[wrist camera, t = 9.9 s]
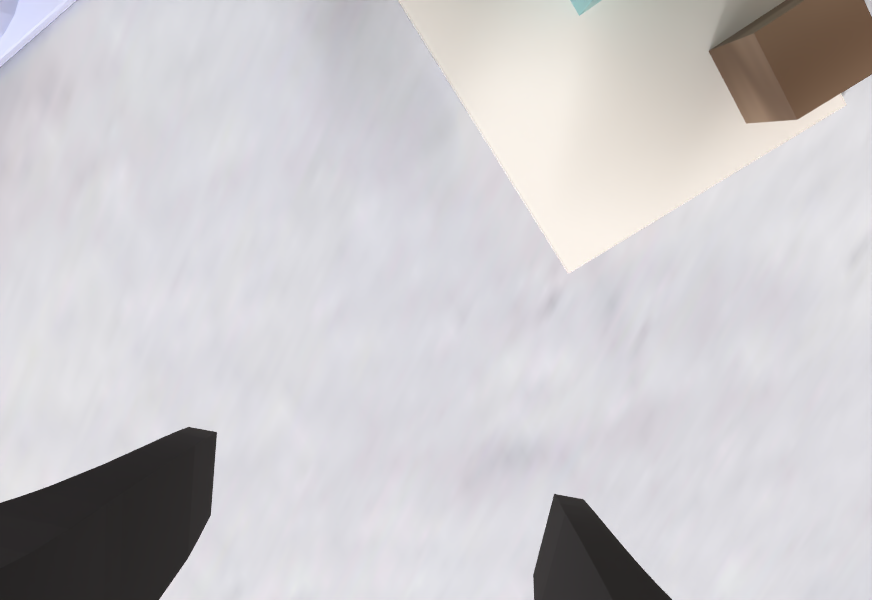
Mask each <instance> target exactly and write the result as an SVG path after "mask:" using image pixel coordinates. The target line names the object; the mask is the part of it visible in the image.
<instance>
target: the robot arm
mask: <svg viewBox="0 0 872 600" xmlns="http://www.w3.org/2000/svg"><path fill="white" fill-rule="evenodd" d="M75 1H76V0H0V67H1V66H2V65H3V64H4V63H5V62H7V61H8V60H9V59H10V58H11V57H12V56H13V55H15V54H16V53H17V52H18V51H19V50H20V49H21V48H23V47H24V46H25V45H26V44H27V43H28V42H29V41H31V40H32V39H33V38H34V37H35V36H36V35H38V34H39V33H40V32H41V31H42V30H43V29H44V28H46V27H47V26H48V25H49V24H50V23H51V22H52V21H54V20H55V19H56V18H57V17H58V16H59V15H60V14H62V13H63V12H64V11H65V10H66V9H67V8H68V7H70V6H71V5H72V4H73V3H74V2H75ZM216 437H217V432H213V431H207V430H202V429H196V428H191V427H187V428H185V429H182V430H179V431H177V432H174V433H172V434H170V435H168V436H165V437H163V438H161V439H159V440H156V441H154V442H152V443H150V444H148V445H145V446H143V447H141V448H139V449H137V450H134V451H132V452H130V453H128V454H126V455H123V456H121V457H119V458H117V459H114V460H112V461H110V462H108V463H105V464H103V465H101V466H98V467H96V468H93V469H91V470H89V471H86V472H84V473H81V474H79V475H76V476H74V477H71V478H69V479H66V480H64V481H61V482H59V483H56V484H54V485H51V486H49V487H46V488H43V489H41V490H38V491H35V492H32V493H29V494H26V495H23V496H21V497H17V498H14V499H11V500H8V501H5V502H2V503H0V600H159V599H160V597H161V596H162V595H163V593H164V592H165V590H166V589H167V587H168V586H169V585H170V583H171V582H172V580H173V579H174V577H175V576H176V575H177V573H178V572H179V570H180V569H181V567H182V566H183V565H184V563H185V562H186V560H187V559H188V557H189V555H190V553H191V552H192V550H193V548H194V546H195V544H196V542H197V541H198V539H199V537H200V535H201V533H202V531H203V529H204V527H205V525H206V523H207V521H208V519H209V517H210V516H211V504H212V490H213V477H214V463H215V450H216ZM533 578H534V600H672V599H671V598H670V597H669V596H668V595H667V594H666V593H665V592H664V591H663V590H662V589H661V588H660V587H659V586H658V585H657V584H656V583H655V582H654V580H653V579H652V578H651V577H650V576H649V575H648V574H647V573H646V572H645V571H644V570H643V569H642V567H641V566H640V565H639V564H638V563H637V562H636V561H635V560H634V558H633V557H632V556H631V555H630V554H629V553H628V551H627V550H626V549H625V548H624V547H623V546H622V544H621V543H620V542H619V541H618V540H617V539H616V537H615V536H614V535H613V534H612V533H611V531H610V530H609V529H608V528H607V527H606V525H605V524H604V523H603V522H602V521H601V519H600V518H599V517H598V516H597V515H596V513H595V512H594V511H593V510H592V509H591V507H590V506H589V505H588V504H587V503H586V502H585V501H584V500H583V499H578V498H573V497H568V496H562V495H557V494H554V497H553V501H552V505H551V509H550V513H549V516H548V520H547V524H546V528H545V532H544V536H543V540H542V544H541V547H540V551H539V555H538V559H537V563H536V567H535V571H534V574H533Z"/></svg>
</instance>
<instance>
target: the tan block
mask: <svg viewBox="0 0 872 600" xmlns="http://www.w3.org/2000/svg"><path fill="white" fill-rule="evenodd" d="M709 53H710V55H711V57H712V59H713V61H714V63H715V65H716V67H717V68H718V70H719V72H720V74H721V76H722V78H723V80H724V82H725V84H726V86H727V88H728V90H729V91H730V93H731V95H732V97H733V99H734V101H735V103H736V105H737V107H738V109H739V111H740V113H741V115H742V116H743V118H744V120H745V122H746V124H747V123H761V122H774V121H788V120H798V119H800V118H801V117H803V116H804V115H806V114H808V113H809V112H811V111H813V110H814V109H816V108H818V107H819V106H821V105H822V104H824V103H826V102H827V101H829V100H831V99H832V98H834V97H835V96H837V95H839V94H840V93H842V92H844V91H845V90H847V89H849V88H850V87H852V86H853V85H855V84H857V83H858V82H860V81H862V80H863V79H865V78H867V77H868V76H870V75H871V74H872V17H871V15H870V12H869V10H868V8H867V6H866V4H865V1H864V0H785V1H784V2H782V3H781V4H779V5H778V6H776V7H775V8H773V9H772V10H770V11H769V12H767V13H766V14H764V15H763V16H761V17H760V18H758V19H756V20H755V21H753V22H752V23H750V24H749V25H747V26H746V27H744V28H743V29H741V30H740V31H738V32H737V33H735V34H734V35H732V36H731V37H729V38H728V39H726V40H724V41H723V42H721V43H720V44H718V45H717V46H715V47H714V48H712V49H711V50H709Z"/></svg>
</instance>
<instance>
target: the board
mask: <svg viewBox="0 0 872 600" xmlns="http://www.w3.org/2000/svg"><path fill="white" fill-rule="evenodd" d="M398 1H399V3H400V5H401V6H402V8H403V9H404V11H405V13H406V14H407V16H408V17H409V19H410V21H411V22H412V24H413V25H414V27H415V29H416V30H417V32H418V34H419V35H420V37H421V38H422V40H423V42H424V43H425V45H426V46H427V48H428V50H429V51H430V53H431V54H432V56H433V58H434V59H435V61H436V62H437V64H438V66H439V67H440V69H441V70H442V72H443V74H444V75H445V77H446V79H447V80H448V82H449V83H450V85H451V87H452V88H453V90H454V91H455V93H456V95H457V96H458V98H459V99H460V101H461V103H462V104H463V106H464V107H465V109H466V111H467V112H468V114H469V115H470V117H471V119H472V120H473V122H474V124H475V125H476V127H477V128H478V130H479V132H480V133H481V135H482V136H483V138H484V140H485V141H486V143H487V144H488V146H489V148H490V149H491V151H492V152H493V154H494V156H495V157H496V159H497V161H498V162H499V164H500V165H501V167H502V169H503V170H504V172H505V173H506V175H507V177H508V178H509V180H510V181H511V183H512V185H513V186H514V188H515V189H516V191H517V193H518V194H519V196H520V197H521V199H522V201H523V202H524V204H525V206H526V207H527V209H528V210H529V212H530V214H531V215H532V217H533V218H534V220H535V222H536V223H537V225H538V226H539V228H540V230H541V231H542V233H543V234H544V236H545V238H546V239H547V241H548V242H549V244H550V246H551V247H552V249H553V251H554V252H555V254H556V255H557V257H558V259H559V260H560V262H561V263H562V265H563V267H564V268H565V270H566V271H567V273H568V274H569V273H571V272H572V271H574V270H576V269H577V268H579V267H581V266H582V265H584V264H585V263H587V262H589V261H590V260H592V259H594V258H595V257H597V256H599V255H600V254H602V253H604V252H605V251H607V250H609V249H610V248H612V247H613V246H615V245H617V244H618V243H620V242H622V241H623V240H625V239H627V238H628V237H630V236H632V235H633V234H635V233H637V232H638V231H640V230H642V229H643V228H645V227H646V226H648V225H650V224H651V223H653V222H655V221H656V220H658V219H660V218H661V217H663V216H665V215H666V214H668V213H670V212H671V211H673V210H674V209H676V208H678V207H679V206H681V205H683V204H684V203H686V202H688V201H689V200H691V199H693V198H694V197H696V196H698V195H699V194H701V193H703V192H704V191H706V190H707V189H709V188H711V187H712V186H714V185H716V184H717V183H719V182H721V181H722V180H724V179H726V178H727V177H729V176H731V175H732V174H734V173H735V172H737V171H739V170H740V169H742V168H744V167H745V166H747V165H749V164H750V163H752V162H754V161H755V160H757V159H759V158H760V157H762V156H763V155H765V154H767V153H768V152H770V151H772V150H773V149H775V148H777V147H778V146H780V145H782V144H783V143H785V142H787V141H788V140H790V139H792V138H793V137H795V136H796V135H798V134H800V133H801V132H803V131H805V130H806V129H808V128H810V127H811V126H813V125H815V124H816V123H818V122H820V121H821V120H823V119H824V118H826V117H828V116H829V115H831V114H833V113H834V112H836V111H838V110H839V109H841V108H843V107H844V106H846V103H845V100H844V98H843V96H842V94H841V93H840V94H839V95H837V96H835V97H834V98H832V99H831V100H829V101H827V102H826V103H824V104H822V105H821V106H819V107H818V108H816V109H814V110H813V111H811V112H809V113H808V114H806V115H804V116H803V117H801V118H800V119H798V120H788V121H774V122H761V123H747V124H746V122H745V120H744V118H743V116H742V115H741V113H740V111H739V109H738V107H737V105H736V103H735V101H734V99H733V97H732V95H731V93H730V91H729V90H728V88H727V86H726V84H725V82H724V80H723V78H722V76H721V74H720V72H719V70H718V68H717V67H716V65H715V63H714V61H713V59H712V57H711V55H710V53H709V50H711V49H712V48H714V47H715V46H717V45H718V44H720V43H721V42H723V41H724V40H726V39H728V38H729V37H731V36H732V35H734V34H735V33H737V32H738V31H740V30H741V29H743V28H744V27H746V26H747V25H749V24H750V23H752V22H753V21H755V20H756V19H758V18H760V17H761V16H763V15H764V14H766V13H767V12H769V11H770V10H772V9H773V8H775V7H776V6H778V5H779V4H781V3H782V2H784V1H785V0H601V1H600V2H599V3H597V4H596V5H594V6H593V7H591V8H590V9H589V10H587V11H586V12H584V13H583V14H582V15H580V16H579V15H578V13H577V11H576V9H575V8H574V6H573V4H572V2H571V1H570V0H398Z"/></svg>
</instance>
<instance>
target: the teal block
mask: <svg viewBox="0 0 872 600" xmlns="http://www.w3.org/2000/svg"><path fill="white" fill-rule="evenodd" d="M570 1H571V2H572V4H573V6H574V8H575V9H576V11H577V13H578V15H579V16H580V15H582V14H583V13H584V12H586V11H587V10H589V9H590V8H591V7H593V6H594V5H596V4H597V3H599V2H600V1H601V0H570Z"/></svg>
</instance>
